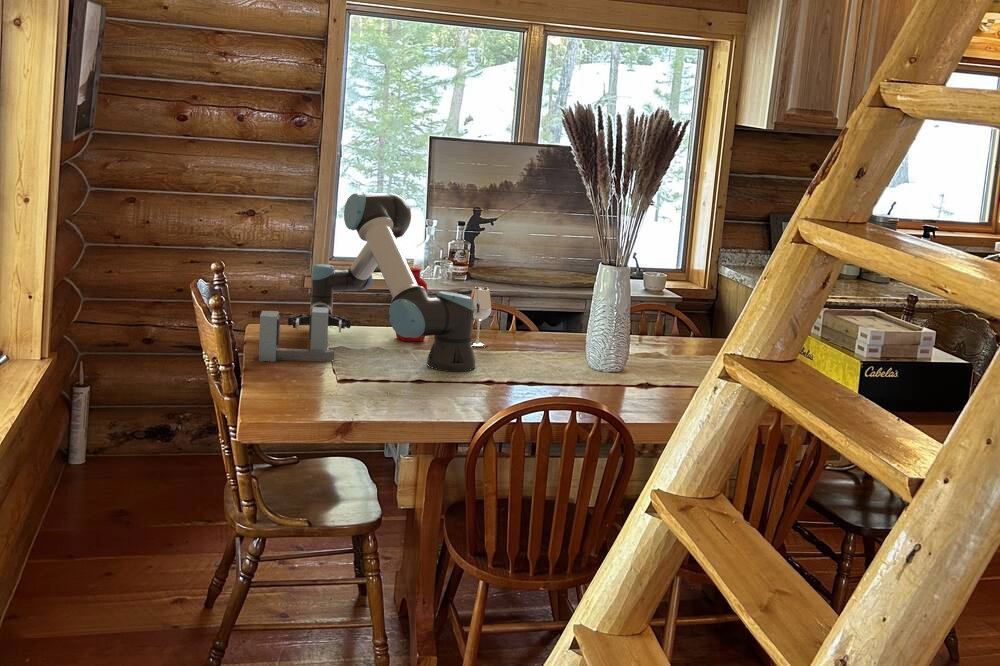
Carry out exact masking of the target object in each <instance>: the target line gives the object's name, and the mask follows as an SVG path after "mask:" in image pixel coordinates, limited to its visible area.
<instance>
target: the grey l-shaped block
mask: <svg viewBox="0 0 1000 666" xmlns="http://www.w3.org/2000/svg"><path fill="white" fill-rule="evenodd" d="M258 338H259V340H258V346H259V347H258V362H263V361H268V362H267V363H269V361H270V362H271V363H276V362H277V361H294V360H295V362H296V361H297V362H298V361H299V362H300V361H301V362H302V361H303V362H321V363H322V362H324V363H325V362H328V363H332V362H331V361H332V360H334V361H335V350H332V349H329V350H328V349H327V350H312V349H308V348H307V349H305V348H283V347H282V348H281V347H279V344H280V342H281V341H280V340H281V314H280V312H279V311H278V310H276V311H274V310H261V313H260V315H259V337H258Z"/></svg>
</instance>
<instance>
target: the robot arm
mask: <svg viewBox="0 0 1000 666" xmlns="http://www.w3.org/2000/svg"><path fill="white" fill-rule="evenodd" d="M411 212H412V210H411V207H410V205H409V203H408V202H407V201H406V199H404V198H403V197H402V196H400V195H399V194H396V193H391V192H390V193H389V192H388V193H385V192H384V193H382V192H381V193H379V192H378V193H375V192H359V193H358V192H357V193H352V194H351V195H349V196H348V198H347V199H346V201H345V205H344V210H343V221H344V225H345V226H346V227H345V228H347V229H348V230H351V231H356V232H357V234H358V236H359V238H360V240H362V241H364V242H366V244H365V245H364V246H363V248H362V249H361V250H360V252H359V253H358V255H357V256H356V258H355V259H354V261H353V263H352V264H351V265H350V266H349V268H347V269H335V266H334V265H332V264H327V263H317V264H314V265H313V266H312V270H311V288H310V289H311V293H310V309H309V313H308V314H306V315H305V314H304V313H303V312H300V313H298V314H295V315H292V316H288V317H287V326H292V328H293V329H295V331H297V332H298V331H299V328H300V326H303V325H309V324H310V311H312V308H313V307H322V308H329V310H328V326H330V327H331V326H334V327H337V328H338V333H342V329H343V330H344V329H346V328H347V329H350V328H351V323H352V322H351V321H352V320H351V319H348V318H347V317H344V316H342V315H341V314H336V316H333V310H334V306H333V303H334V292H351V291H352V292H353V291H355V292H356V291H359V292H360V291H363V290H364V291H366V290H368V289H370V288H371V286H372V283H373V275H372V274H373V273H374V271H375V270H376V269H377V267H378V268H379V271H380V273H381V274H382V277H383V279H384V281H385V283H386V286H387V288H388V290H389V292H390V293H391V297H392V298H391V301H390V306H389V310H388V316H390V317H389V323H390V326H391V327H392V329H393V331H394V333H395V334H396V333H397V334H398V335H400V336H402V337H412V338H417V337H421V336H425V337H431V336H434V337H433V338H434V339H433V343H432V345H431V348H430V351H429V353H428V356H427V360H426V365H427V364H428V365H429V366H430V367H429V366H428V365H427V366H428V367H429V368H431V367H433V368H432V369H434V368H437V369H436V370H438V369H441V370H440V371H443V370H448V371H447V372H466V371H465V370H469V371H471V370H470V369H472V370H474V369H476V357H475V354H474V348H473V347H472V345H471V342H472V334H473V333H472V322H473V323H474V319H473V312H474V302H473V299H472V298H471V297H469V296H466V295H462V294H457V293H451V292H447V291H440V290H439V291H437V293H436V297H430V296H429V294H428V293H427V292H426V290H425V288H424V287H421V286H418V284H417V282H416V280H415V278H414V276H413V274H412V272H411V270H410V268H411V267H410V266H409V263H408V262H407V260H406V257H405V255H404V253H403V251H402V249H401V247H400V245H399V243H398V241H397V239H399V238H401V237H404V235H405V233H407V230H408V229H409V227H410V225H411V221H412V213H411ZM473 368H474V369H473Z"/></svg>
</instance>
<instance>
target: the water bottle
mask: <svg viewBox="0 0 1000 666" xmlns="http://www.w3.org/2000/svg"><path fill="white" fill-rule="evenodd" d="M409 268H410V270H411V272H412V274H413V276H414V278H415V280H416V282H417V284H418V286H421V287H424V288H425V290H426V292H427V294H428V293H429V292H428V285H427V284H428V283H427V282H426V280H424V279H423V278H422V277H421V273H422V270H421V268H417V267H409ZM395 336H396V338H397V339H398V340H401V341H402V342H406V341H408V343H409V341H413V342H422V341H424V340H425V338H426V336H421V337H417V338H412V337H402V336H400V335H398V334H397V333H396V332H395Z"/></svg>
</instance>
